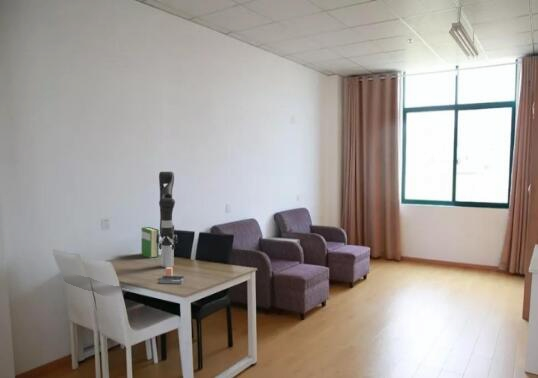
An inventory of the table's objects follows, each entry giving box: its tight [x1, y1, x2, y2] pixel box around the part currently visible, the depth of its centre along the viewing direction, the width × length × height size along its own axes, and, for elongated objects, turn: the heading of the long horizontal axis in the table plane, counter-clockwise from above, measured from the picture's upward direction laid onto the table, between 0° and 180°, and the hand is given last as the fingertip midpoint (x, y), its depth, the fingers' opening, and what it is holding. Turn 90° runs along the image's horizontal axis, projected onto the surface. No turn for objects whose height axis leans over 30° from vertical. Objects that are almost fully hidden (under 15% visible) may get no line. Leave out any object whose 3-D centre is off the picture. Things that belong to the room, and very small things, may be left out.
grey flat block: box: [158, 275, 185, 285], centre depth 269 cm, size 8×15×3 cm, turn 90°
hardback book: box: [141, 226, 160, 259], centre depth 343 cm, size 18×7×24 cm, turn 42°
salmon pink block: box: [165, 266, 174, 276], centre depth 279 cm, size 4×4×7 cm
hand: (166, 249), depth 277 cm, fingers open, 8 cm apart
